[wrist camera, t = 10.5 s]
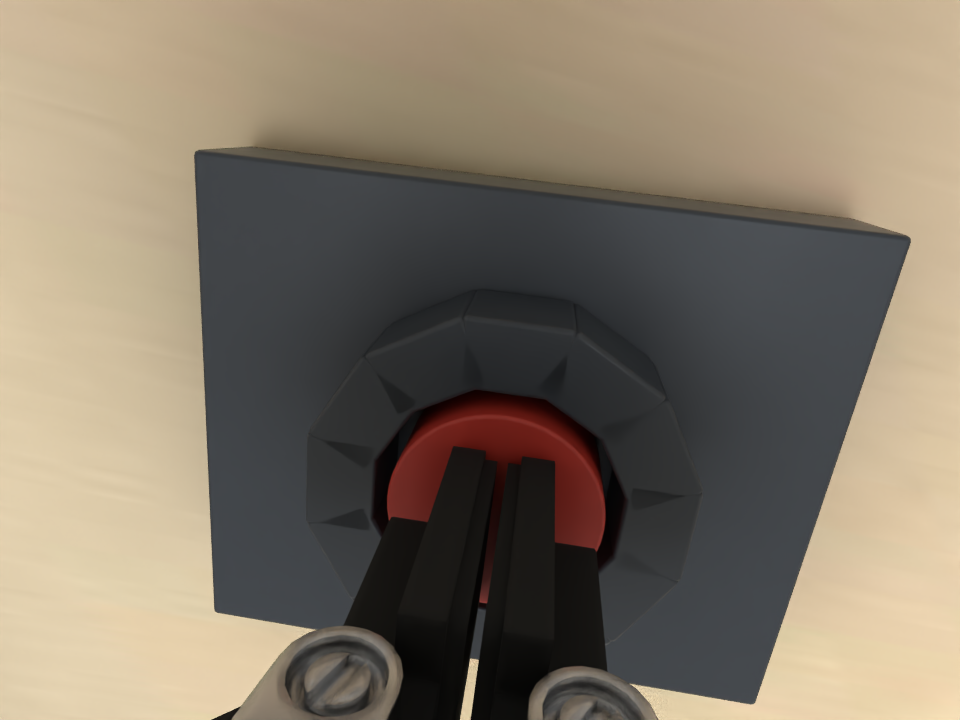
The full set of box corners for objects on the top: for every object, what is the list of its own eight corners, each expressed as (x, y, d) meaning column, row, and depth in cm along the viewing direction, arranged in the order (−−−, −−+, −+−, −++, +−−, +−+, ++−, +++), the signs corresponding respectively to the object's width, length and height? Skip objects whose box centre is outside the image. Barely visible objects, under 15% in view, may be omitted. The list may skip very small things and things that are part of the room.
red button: (415, 361, 12) (392, 399, 10) (615, 390, 11) (624, 433, 10) (402, 529, 13) (380, 587, 11) (582, 557, 13) (586, 621, 11)
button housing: (249, 145, 13) (126, 153, 9) (855, 218, 12) (985, 258, 9) (255, 554, 17) (167, 677, 13) (730, 631, 16) (782, 787, 12)
